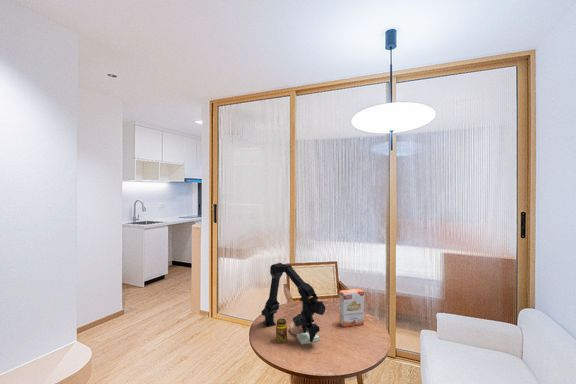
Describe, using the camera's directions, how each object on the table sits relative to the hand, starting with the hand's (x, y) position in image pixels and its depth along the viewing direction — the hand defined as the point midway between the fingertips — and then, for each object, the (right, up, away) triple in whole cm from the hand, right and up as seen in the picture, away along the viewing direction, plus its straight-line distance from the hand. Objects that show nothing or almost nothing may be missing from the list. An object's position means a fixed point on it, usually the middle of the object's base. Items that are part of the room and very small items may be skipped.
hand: (307, 337), depth 158 cm
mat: (0, -2, 0) cm, 2 cm away
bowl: (-5, -2, +10) cm, 11 cm away
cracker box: (+29, -2, +19) cm, 35 cm away
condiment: (-15, -2, 0) cm, 15 cm away
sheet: (0, -1, 0) cm, 1 cm away
